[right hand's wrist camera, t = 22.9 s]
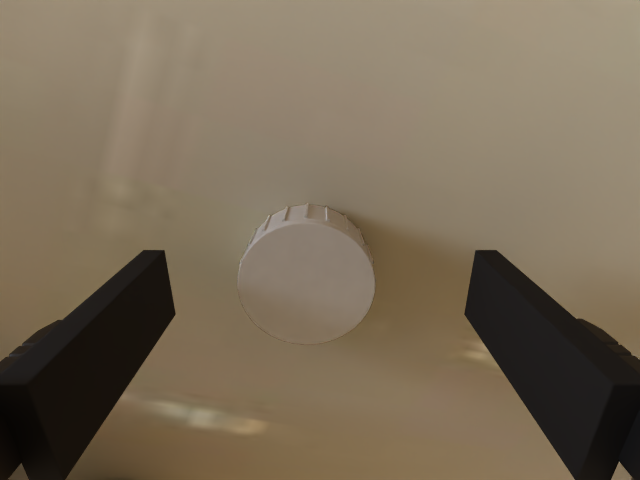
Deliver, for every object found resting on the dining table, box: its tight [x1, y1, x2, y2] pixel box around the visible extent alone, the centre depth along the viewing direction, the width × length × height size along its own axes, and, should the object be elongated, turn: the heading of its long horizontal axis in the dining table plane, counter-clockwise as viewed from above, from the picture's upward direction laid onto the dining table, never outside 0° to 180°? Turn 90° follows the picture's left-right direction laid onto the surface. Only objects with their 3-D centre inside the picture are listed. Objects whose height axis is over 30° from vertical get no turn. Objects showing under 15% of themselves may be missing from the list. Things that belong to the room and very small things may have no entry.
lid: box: [237, 203, 376, 345], centre depth 14 cm, size 5×5×2 cm
